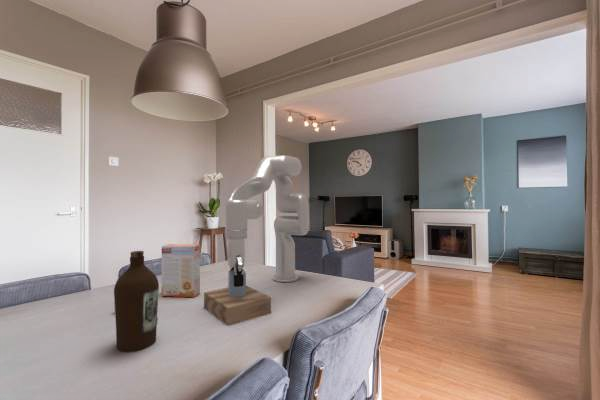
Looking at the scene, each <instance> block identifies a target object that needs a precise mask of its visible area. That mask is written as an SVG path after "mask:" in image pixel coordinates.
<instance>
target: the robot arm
mask: <svg viewBox="0 0 600 400" xmlns="http://www.w3.org/2000/svg"><path fill="white" fill-rule="evenodd" d="M302 169H303V167H302V162H301V160H300V159H299V158H298V157H296V156H295V157H294V156H291V155H270V156H269V155H268V156H264V157H263V158H261V159H260V161H259V163H258V165H257V167H256V169H255V171H254V173H253V174H252V176H251V178H250V179H248V180H247V181H245V182H243V183H241V185H239V186H237V188H235V189H234V190H233V191H232V193H231V195H230V196H229V198H228V200H227V201H226V203H225V240H227V257H226V258H227V262H226V263H227V265H228V267H229V268H230V269H229V271H233V270H234V272H235V275H234V287H239V286H243V285H244V274H243V270H244V267H245V262H246V261H245V260H246V259H245V258H246V257H245V252H246V251H245V250H246V249H245V240H246V239H248V220H257V219H259V218H261V217H262V215H263V214H264V205H263V203H262V202H261V201H259V200H257V199H251V198H252V197H255V196H259V195H261V194H263V193H265V192H267V191H269V190H270V188H271V185H272V183H273V181H274V185H275V199H276V200H275V203H276V209H277V212H279V213H283V214H297V215H279V216H277V217H276V218H275V219H274V221H273V228H274V235H275V275H273V276H272V280H273V281H275V282H277V283H291V282H295V281H298V279H299V276H298V275H296V244H295V243H296V242H295V241H294V238H293V237H292V236H305V235H307V234H308V233H309V228H310V217H309V214H310V213H309V200H308V197H307V196H306V195H305V194H303V193H294V183H293V181H292V180H291V178H290V177H297V176H298V175H300V174H301V172H302ZM236 270H237V271H236Z"/></svg>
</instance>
